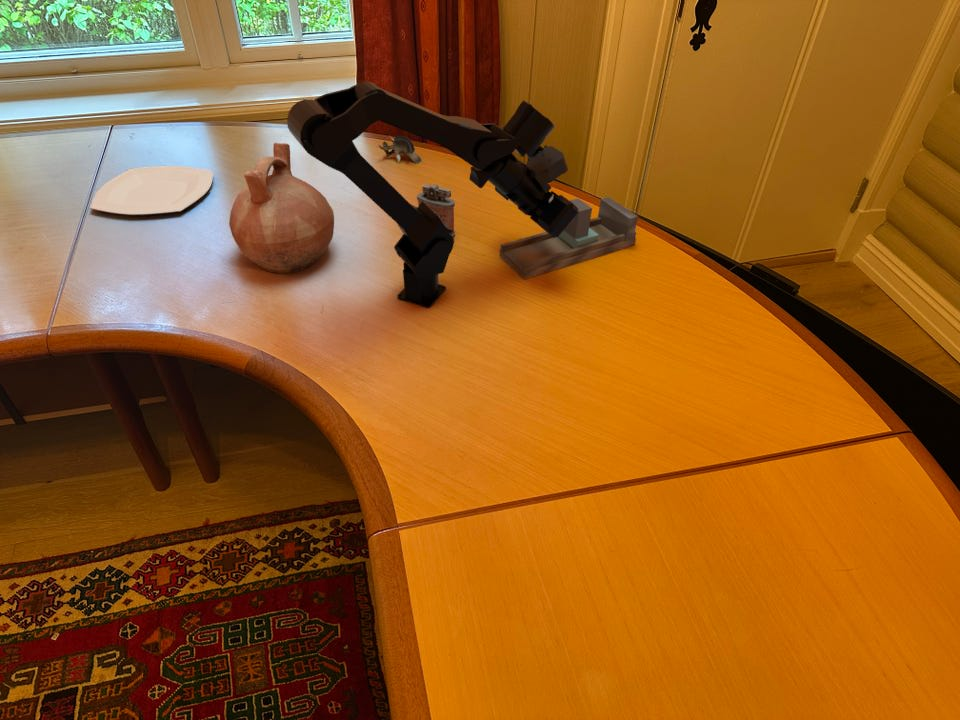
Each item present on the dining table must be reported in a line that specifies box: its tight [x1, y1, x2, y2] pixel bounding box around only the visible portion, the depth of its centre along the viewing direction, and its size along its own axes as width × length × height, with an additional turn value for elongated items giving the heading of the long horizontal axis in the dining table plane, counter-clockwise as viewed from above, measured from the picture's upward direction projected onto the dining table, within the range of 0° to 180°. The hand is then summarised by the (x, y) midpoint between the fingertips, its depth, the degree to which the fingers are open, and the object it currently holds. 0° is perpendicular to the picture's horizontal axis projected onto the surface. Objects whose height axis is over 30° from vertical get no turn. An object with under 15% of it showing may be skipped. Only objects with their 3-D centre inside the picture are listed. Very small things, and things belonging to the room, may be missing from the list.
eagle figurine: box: [378, 135, 422, 164], centre depth 146 cm, size 8×7×9 cm
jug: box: [228, 142, 335, 274], centre depth 108 cm, size 18×18×20 cm
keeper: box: [559, 197, 599, 248], centre depth 115 cm, size 5×6×8 cm
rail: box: [498, 196, 639, 280], centre depth 116 cm, size 26×9×6 cm, turn 119°
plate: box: [89, 165, 214, 216], centre depth 132 cm, size 23×23×2 cm
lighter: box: [416, 183, 456, 239], centre depth 119 cm, size 8×3×10 cm, turn 62°
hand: (558, 221), depth 112 cm, fingers closed
